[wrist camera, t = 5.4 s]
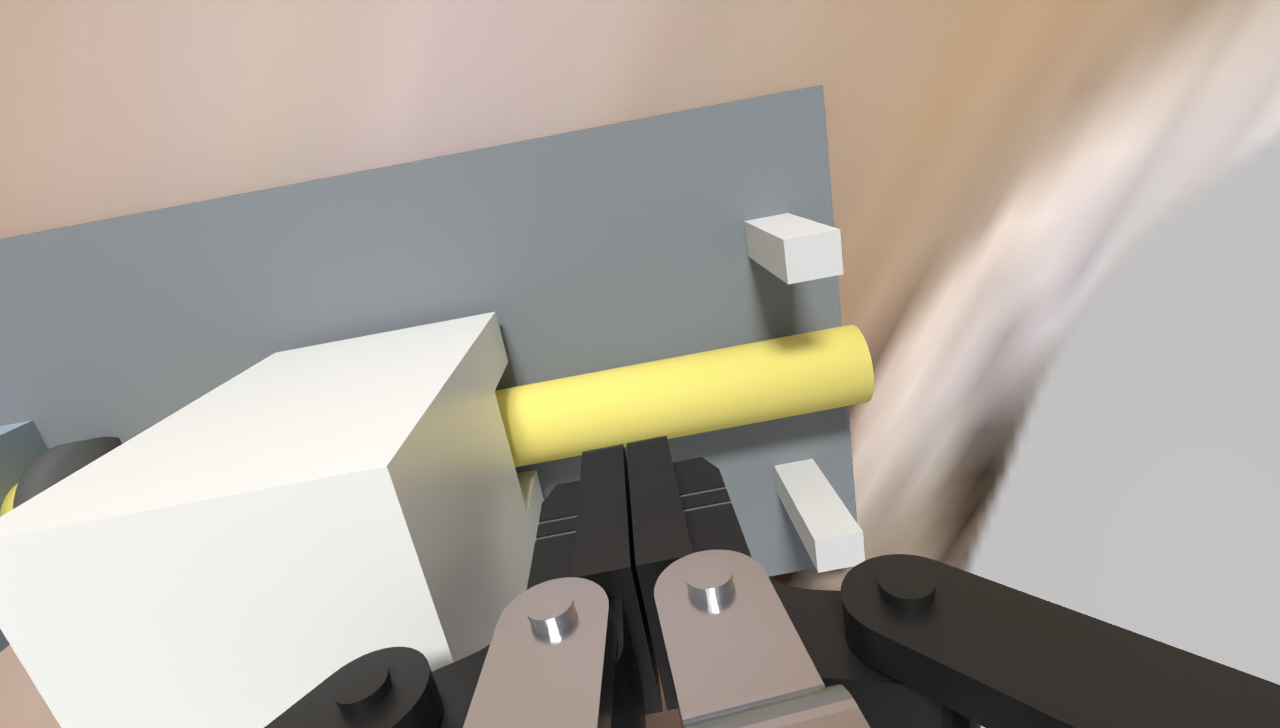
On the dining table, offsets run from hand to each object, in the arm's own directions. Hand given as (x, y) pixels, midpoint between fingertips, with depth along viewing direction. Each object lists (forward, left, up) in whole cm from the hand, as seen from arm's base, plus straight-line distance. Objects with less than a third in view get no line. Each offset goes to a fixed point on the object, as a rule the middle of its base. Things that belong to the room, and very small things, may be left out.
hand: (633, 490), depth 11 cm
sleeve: (+5, 0, -4) cm, 6 cm away
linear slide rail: (+6, 0, -6) cm, 8 cm away
